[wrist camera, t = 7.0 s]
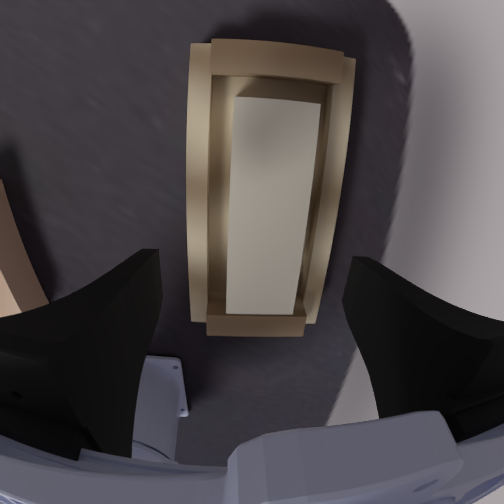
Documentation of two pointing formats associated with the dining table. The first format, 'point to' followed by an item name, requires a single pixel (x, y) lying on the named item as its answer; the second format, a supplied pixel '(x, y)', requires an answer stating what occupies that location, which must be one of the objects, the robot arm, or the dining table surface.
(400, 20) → the dining table surface
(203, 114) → the wooden tray
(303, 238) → the clay bar
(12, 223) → the fired bar
